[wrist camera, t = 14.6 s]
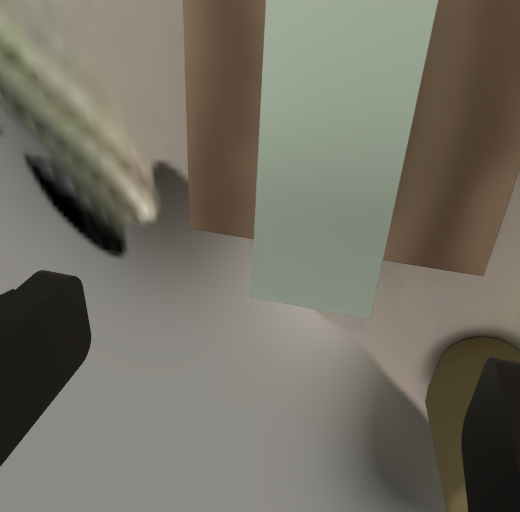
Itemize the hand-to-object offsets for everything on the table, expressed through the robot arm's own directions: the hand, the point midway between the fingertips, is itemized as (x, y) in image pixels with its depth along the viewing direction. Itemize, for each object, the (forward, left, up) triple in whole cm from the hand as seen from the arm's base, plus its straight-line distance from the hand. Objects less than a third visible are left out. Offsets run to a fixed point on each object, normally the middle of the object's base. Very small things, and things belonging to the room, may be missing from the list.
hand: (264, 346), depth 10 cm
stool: (0, 0, -19) cm, 19 cm away
